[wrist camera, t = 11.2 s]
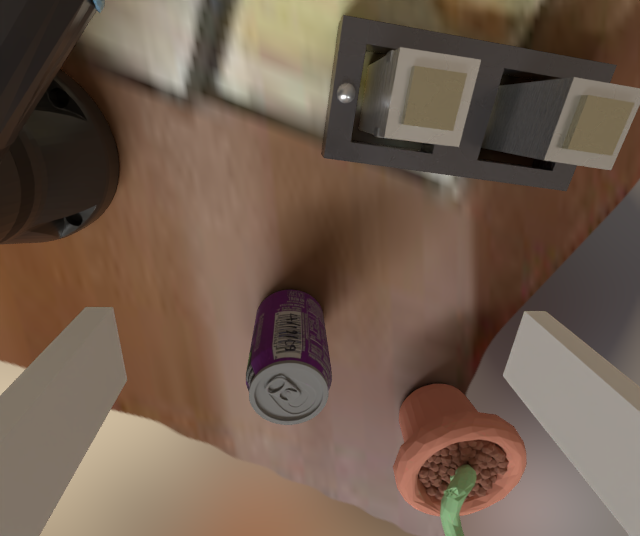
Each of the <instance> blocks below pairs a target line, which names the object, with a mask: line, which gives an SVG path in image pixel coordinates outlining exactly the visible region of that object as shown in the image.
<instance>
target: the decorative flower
mask: <svg viewBox="0 0 640 536" xmlns="http://www.w3.org/2000/svg"><path fill="white" fill-rule="evenodd" d="M399 423H400V427H401V431H402V435H403V438H404V442H405V443H404V444H403V445H402V446H401V447H400V450H399V452H398V455H397V458H396V460H395V463H394V466H393V469H394V474H395V479H396V484H397V488H398V490H399V491H400V493H401V494H402V496H403V498H404V499H405V501H406V502H408V503H409V504H410V505H411V506H413V507H414V508H415V509H417V510H419V511H422V512H424V513H426V514H430V515H435V516H440V517H441V521H442V525H443V529H444V533H445V536H464V534H463V531H462V527H461V522H460V517H459V516H463V515H467V514H471V513H474V512H477V511H480V510H482V509H484V508H487V507H489V506H490V505H492V504H494V503H496V502H498V501H499V500H501V499H503V498H504V497H505V496H506V495H507V494H508V493H509V492H510V491H511V490H512V489H513V488H514V487H515V486H516V485H517V484H518V483H519V481H520V479H521V477H522V474H523V472H524V470H525V467H526V450H525V446H524V442H523V440H522V439H521V437H520V436H519V434H518V432H517V431H516V429H515V428H514V426H512V425H511V424H509V423H508V422H506V421H505V420H503V419H502V418H500V417H499V416H497V415H494V414H487V413H480V412H478V411H477V410H476V409H475V407H474V406H473V405H472V404H471V402H470V401H469V400H468V398H467V397H466V396H465V395H464V394H463V393H462V392H461V391H460V390H459V389H457V388H455V387H453V386H451V385H447V384H431V385H427V386H423V387H421V388H419V389H416V390H415V391H414V392H412V393H411V394H410V395H409V396H408V397H407V398H406V399H405V400H404V402H403V403H402V406H401V408H400V414H399Z"/></svg>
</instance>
